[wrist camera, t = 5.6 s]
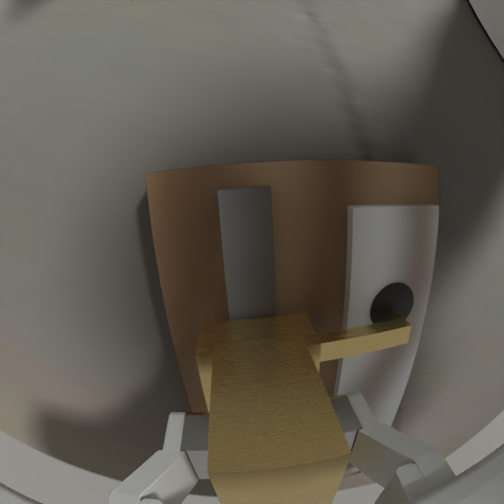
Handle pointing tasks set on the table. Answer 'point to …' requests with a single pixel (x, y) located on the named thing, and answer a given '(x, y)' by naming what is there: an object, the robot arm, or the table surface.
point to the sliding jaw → (278, 405)
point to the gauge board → (299, 258)
